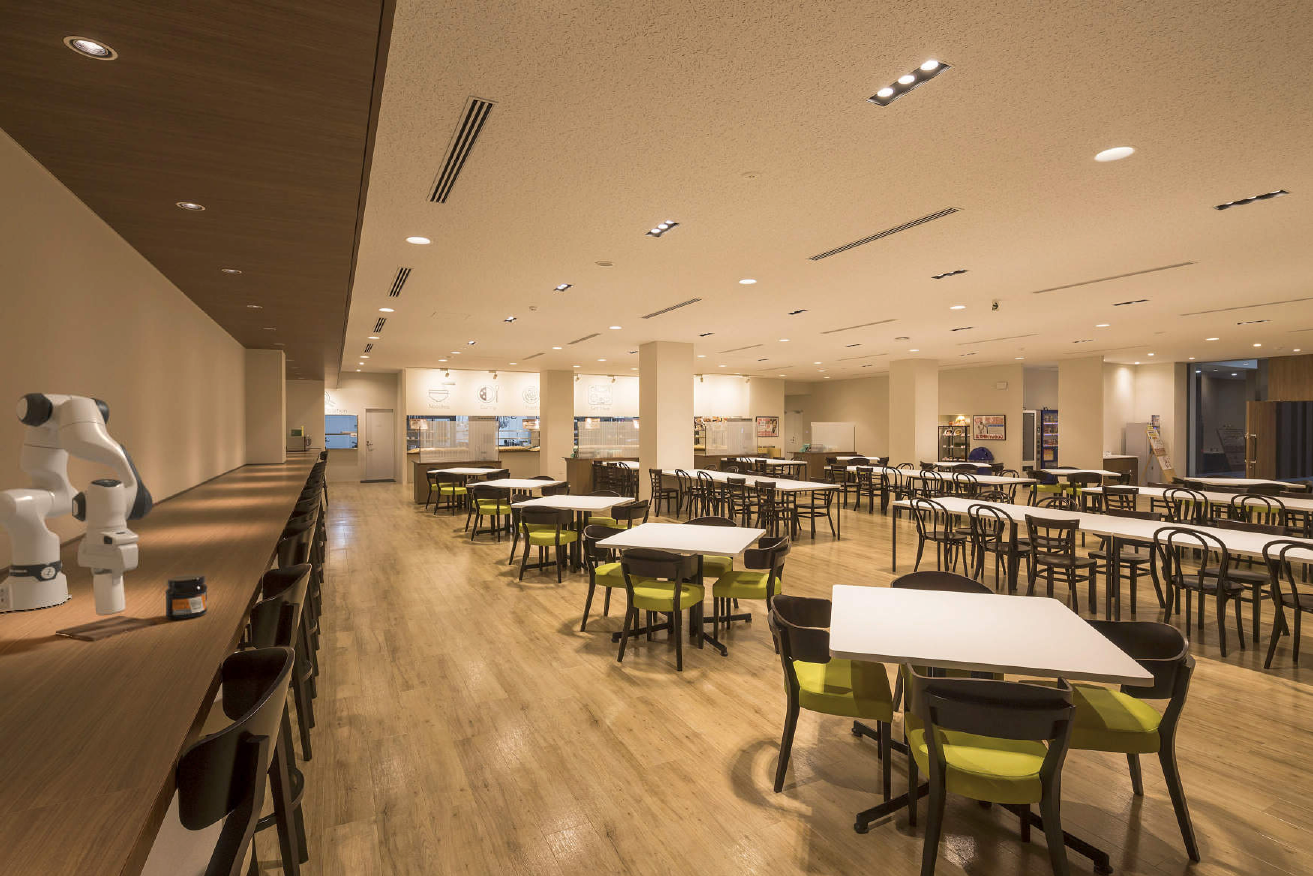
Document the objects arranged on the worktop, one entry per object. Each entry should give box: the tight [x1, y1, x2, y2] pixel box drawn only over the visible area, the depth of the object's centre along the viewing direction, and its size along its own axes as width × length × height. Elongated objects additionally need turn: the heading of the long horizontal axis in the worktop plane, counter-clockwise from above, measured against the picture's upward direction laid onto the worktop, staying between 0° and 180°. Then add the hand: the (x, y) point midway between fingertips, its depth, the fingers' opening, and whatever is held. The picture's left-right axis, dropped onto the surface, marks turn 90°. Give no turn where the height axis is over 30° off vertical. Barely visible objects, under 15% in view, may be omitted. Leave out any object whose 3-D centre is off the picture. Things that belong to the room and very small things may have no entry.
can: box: [92, 569, 126, 616], centre depth 184 cm, size 6×6×12 cm
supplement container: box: [164, 573, 208, 621], centre depth 198 cm, size 10×10×12 cm
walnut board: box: [55, 615, 157, 642], centre depth 184 cm, size 16×16×1 cm
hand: (107, 583), depth 184 cm, fingers closed on can, 5 cm apart
